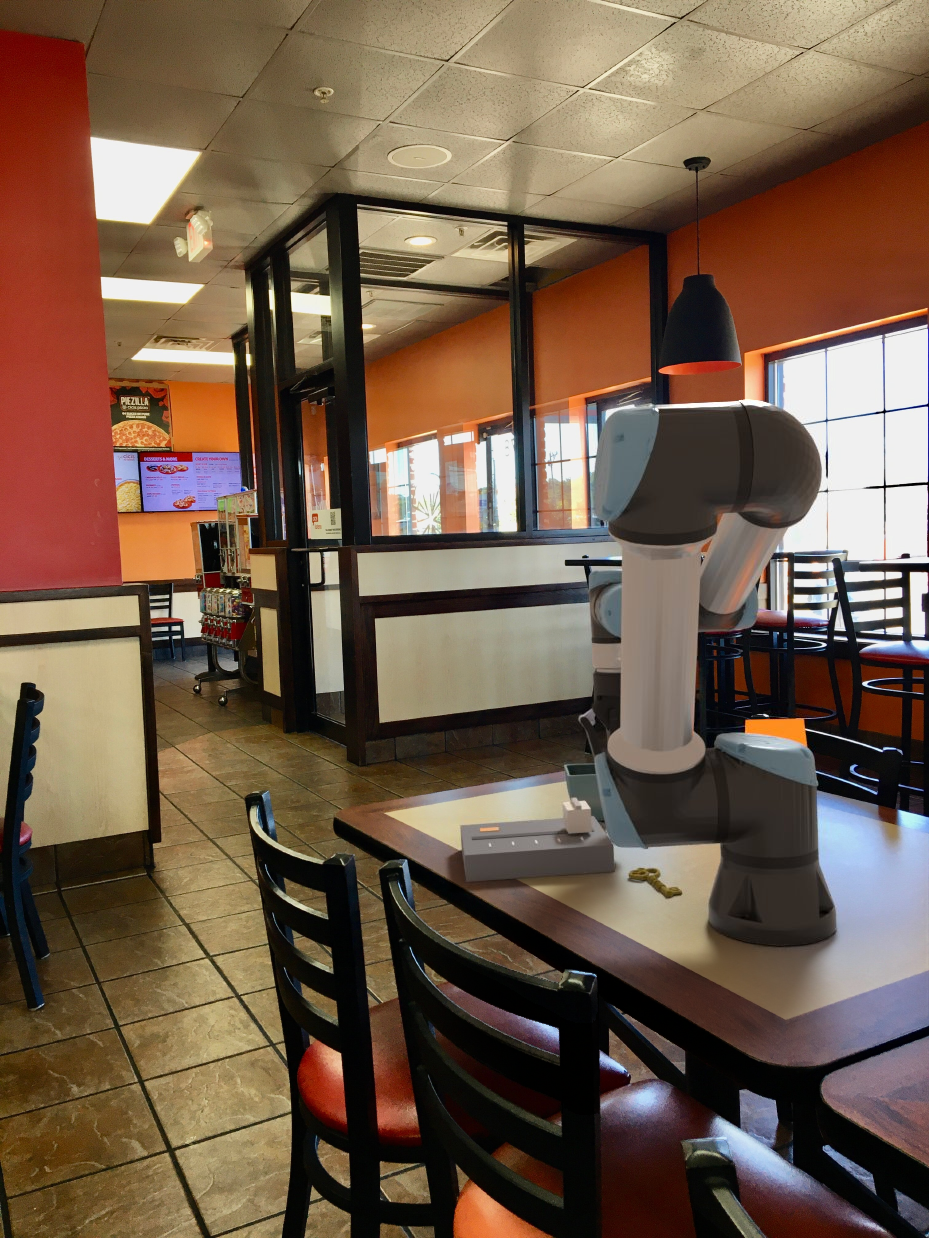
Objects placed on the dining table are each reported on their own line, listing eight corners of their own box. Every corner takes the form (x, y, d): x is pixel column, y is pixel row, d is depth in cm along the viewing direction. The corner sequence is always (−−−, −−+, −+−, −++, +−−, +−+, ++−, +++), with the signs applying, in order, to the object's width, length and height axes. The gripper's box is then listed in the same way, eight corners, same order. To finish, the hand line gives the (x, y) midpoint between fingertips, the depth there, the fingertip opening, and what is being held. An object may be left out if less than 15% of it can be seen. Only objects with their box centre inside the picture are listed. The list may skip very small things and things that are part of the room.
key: (685, 888, 130) (650, 892, 129) (685, 897, 130) (650, 902, 129) (653, 863, 142) (621, 867, 141) (654, 872, 142) (622, 875, 141)
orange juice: (813, 854, 144) (808, 723, 142) (752, 854, 145) (746, 724, 144) (805, 839, 151) (800, 714, 150) (747, 839, 153) (742, 715, 152)
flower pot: (621, 823, 166) (618, 772, 165) (570, 826, 166) (567, 775, 165) (614, 810, 175) (612, 761, 174) (566, 812, 175) (563, 764, 174)
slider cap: (591, 831, 146) (590, 804, 146) (568, 833, 146) (567, 806, 146) (586, 823, 151) (584, 796, 151) (563, 824, 151) (562, 798, 151)
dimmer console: (614, 871, 141) (613, 844, 141) (466, 881, 140) (464, 854, 140) (595, 839, 157) (593, 815, 157) (461, 849, 156) (460, 824, 156)
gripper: (653, 663, 152) (659, 810, 153) (571, 668, 151) (579, 815, 153) (665, 669, 144) (671, 822, 146) (579, 674, 144) (586, 828, 145)
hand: (624, 818), depth 149 cm, fingers closed
